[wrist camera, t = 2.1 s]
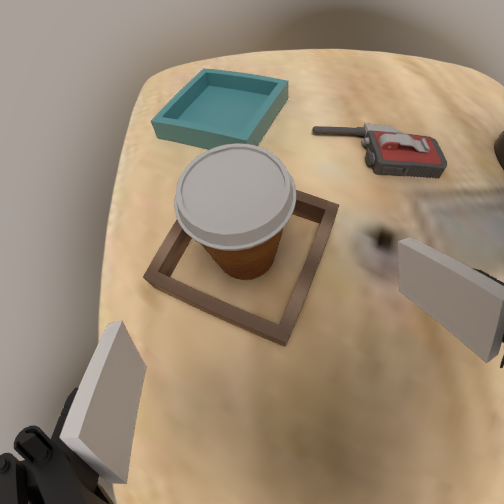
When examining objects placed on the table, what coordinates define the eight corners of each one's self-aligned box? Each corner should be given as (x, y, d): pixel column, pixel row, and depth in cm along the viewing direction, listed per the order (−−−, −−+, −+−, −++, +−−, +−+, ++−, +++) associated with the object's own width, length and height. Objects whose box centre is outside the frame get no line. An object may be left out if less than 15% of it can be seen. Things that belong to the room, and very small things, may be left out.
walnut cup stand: (216, 180, 37) (212, 164, 34) (334, 219, 33) (339, 204, 31) (153, 286, 31) (142, 277, 29) (285, 346, 28) (286, 342, 25)
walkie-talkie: (428, 139, 39) (310, 131, 40) (437, 120, 35) (312, 108, 36) (447, 182, 35) (319, 176, 37) (459, 163, 31) (323, 153, 33)
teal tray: (207, 84, 47) (203, 68, 44) (288, 98, 44) (288, 81, 40) (157, 138, 42) (150, 121, 38) (248, 160, 38) (246, 140, 35)
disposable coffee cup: (237, 312, 30) (215, 268, 19) (187, 247, 33) (149, 181, 22) (308, 257, 32) (324, 189, 21) (253, 201, 35) (244, 124, 24)
